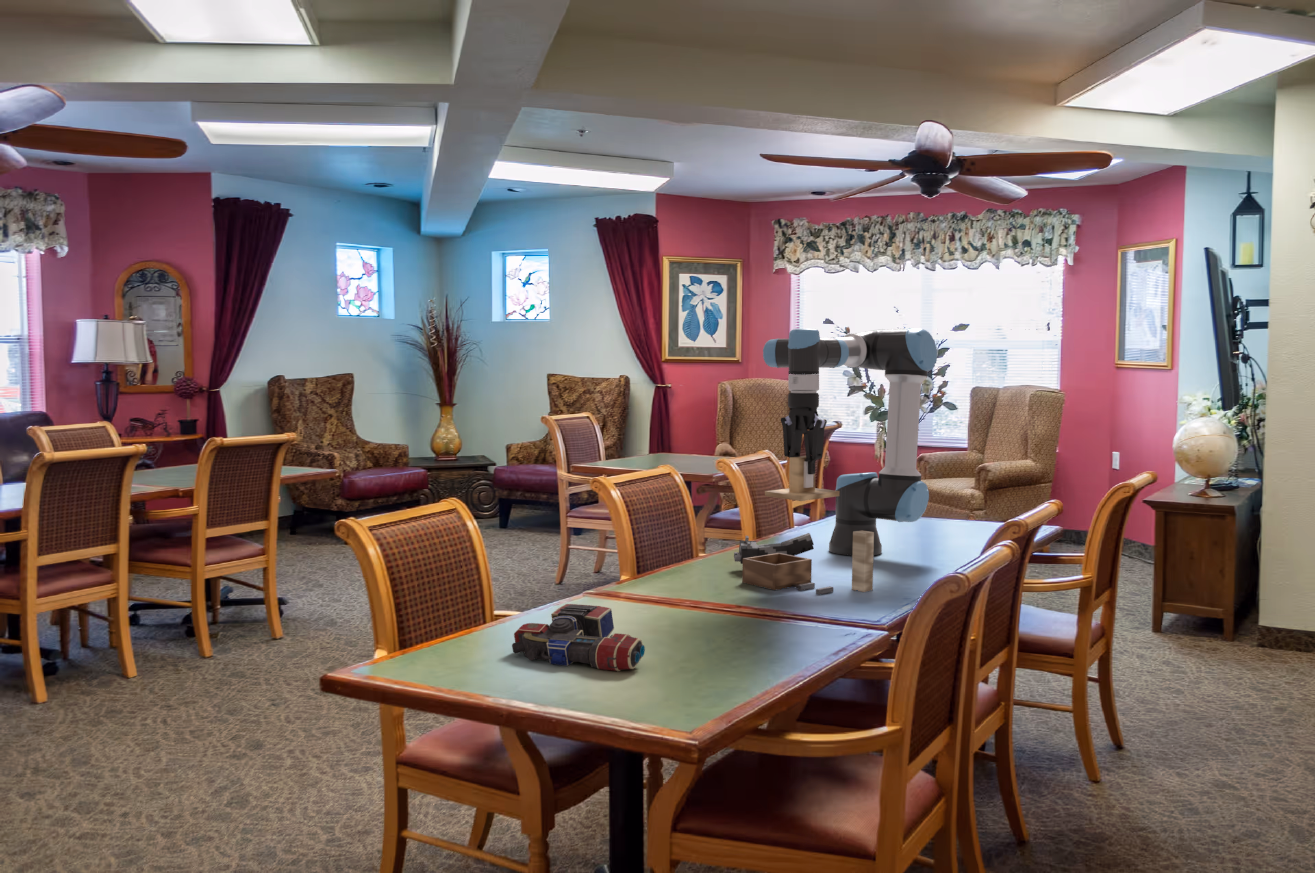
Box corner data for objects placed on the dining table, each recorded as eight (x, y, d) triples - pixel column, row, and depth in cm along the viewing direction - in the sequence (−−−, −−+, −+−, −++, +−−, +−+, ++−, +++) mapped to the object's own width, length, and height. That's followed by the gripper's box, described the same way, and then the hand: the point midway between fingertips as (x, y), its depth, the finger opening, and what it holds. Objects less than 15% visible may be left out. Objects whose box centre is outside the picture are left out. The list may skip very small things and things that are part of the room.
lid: (803, 491, 255) (803, 453, 254) (839, 496, 245) (839, 457, 245) (764, 496, 246) (765, 457, 245) (800, 501, 236) (801, 460, 236)
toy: (814, 574, 256) (815, 535, 255) (734, 573, 256) (735, 534, 256) (810, 568, 263) (811, 531, 262) (733, 567, 263) (733, 530, 263)
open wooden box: (778, 576, 253) (778, 552, 252) (811, 583, 244) (811, 559, 244) (742, 582, 244) (742, 558, 244) (775, 590, 236) (775, 565, 236)
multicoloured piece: (628, 650, 166) (669, 598, 184) (497, 639, 176) (548, 590, 194) (633, 692, 169) (673, 636, 186) (504, 678, 178) (554, 626, 196)
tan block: (860, 587, 240) (861, 530, 239) (872, 590, 237) (873, 532, 237) (851, 589, 238) (852, 531, 237) (863, 592, 235) (864, 533, 234)
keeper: (801, 585, 242) (801, 580, 242) (833, 592, 235) (833, 587, 235) (787, 587, 239) (787, 582, 239) (819, 594, 231) (819, 589, 231)
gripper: (769, 391, 248) (768, 484, 249) (818, 393, 235) (817, 491, 237) (790, 390, 252) (789, 482, 254) (838, 392, 240) (837, 488, 242)
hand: (802, 486), depth 245 cm, fingers closed on lid, 3 cm apart
